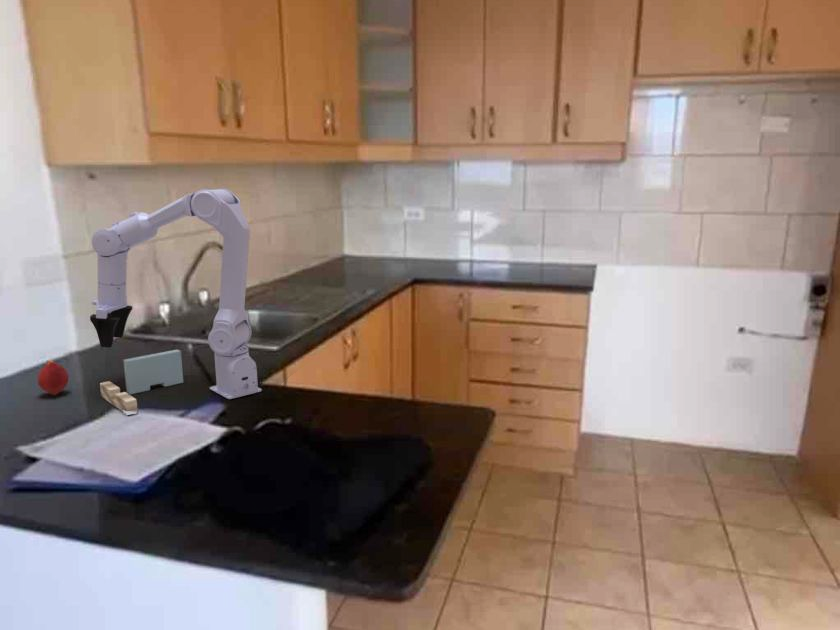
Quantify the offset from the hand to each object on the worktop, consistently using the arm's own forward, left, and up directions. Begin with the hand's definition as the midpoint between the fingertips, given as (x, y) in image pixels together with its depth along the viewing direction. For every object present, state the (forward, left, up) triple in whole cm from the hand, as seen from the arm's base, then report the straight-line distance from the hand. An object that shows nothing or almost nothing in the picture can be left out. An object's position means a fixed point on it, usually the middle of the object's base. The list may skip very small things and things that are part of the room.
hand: (112, 341), depth 144 cm
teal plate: (-7, -6, -10) cm, 14 cm away
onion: (+3, +12, -11) cm, 16 cm away
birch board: (-13, +4, -10) cm, 17 cm away
